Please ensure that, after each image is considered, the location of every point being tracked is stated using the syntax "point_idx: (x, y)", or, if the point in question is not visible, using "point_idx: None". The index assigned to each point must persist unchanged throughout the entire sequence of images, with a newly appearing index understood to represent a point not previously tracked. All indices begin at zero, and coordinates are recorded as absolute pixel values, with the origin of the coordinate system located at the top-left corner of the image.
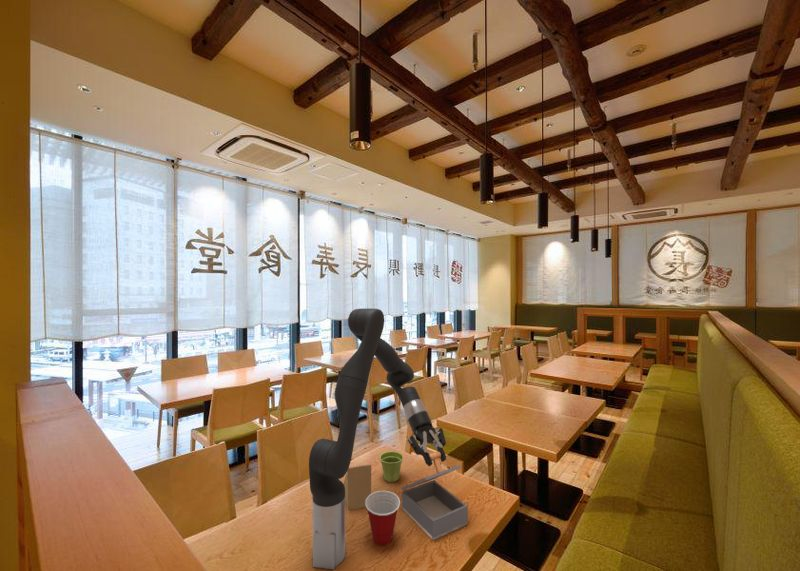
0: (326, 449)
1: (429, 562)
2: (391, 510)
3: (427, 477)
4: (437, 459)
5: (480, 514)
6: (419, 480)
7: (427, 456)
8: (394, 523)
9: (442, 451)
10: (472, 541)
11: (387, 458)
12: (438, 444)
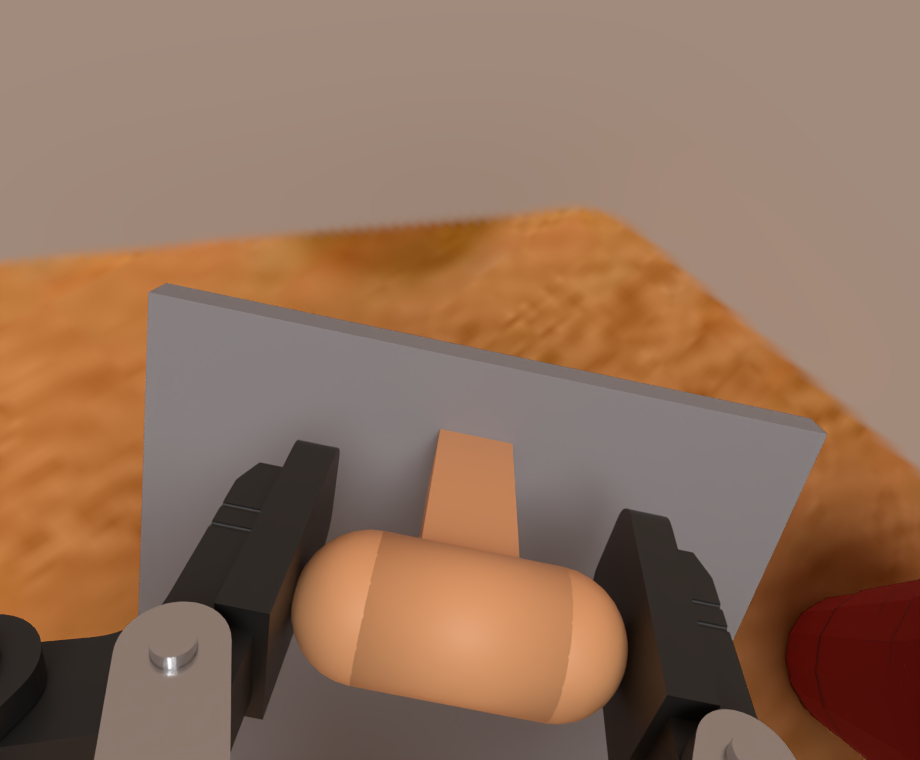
0: None
1: (730, 325)
2: (869, 705)
3: (793, 423)
4: (451, 537)
5: None
6: (754, 588)
7: (692, 649)
8: (874, 597)
9: (259, 545)
10: (424, 254)
11: None
12: (215, 722)
